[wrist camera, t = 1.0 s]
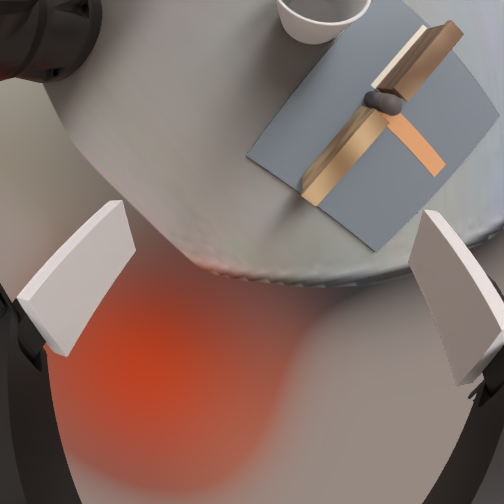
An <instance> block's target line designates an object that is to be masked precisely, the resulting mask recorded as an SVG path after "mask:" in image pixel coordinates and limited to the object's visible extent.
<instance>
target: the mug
mask: <svg viewBox="0 0 504 504" xmlns="http://www.w3.org/2000/svg"><path fill="white" fill-rule="evenodd" d="M275 1H276V5H277V8H278V12H279V16H280V19H281V23H282V26H283V28H284V29H285V31H286V32H287V33H288V34H289V35H290V36H291V37H292V38H294V39H295V40H297V41H299V42H302V43H305V44H313V45H314V44H322V43H325V42H328V41H330V40H331V39H333V38H334V37H336V36H337V35H338V34H339V33H340V32H342V31H343V30H344V29H346V28H347V27H348V26H350V25H351V24H352V23H353V22H355V21H356V20H357V19H359V18H360V17H361V16H362V15H363V14H364V13H365V12H366V11H367V9H368V7H369V5H370V2H371V0H275Z"/></svg>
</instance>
